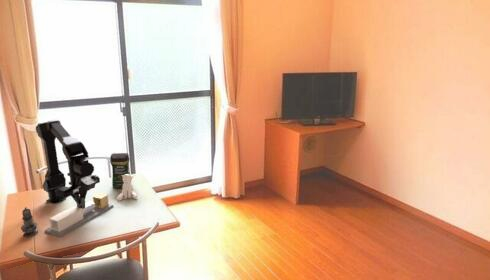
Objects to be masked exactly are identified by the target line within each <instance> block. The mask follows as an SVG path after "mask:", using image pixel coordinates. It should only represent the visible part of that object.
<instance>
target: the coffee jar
mask: <svg viewBox="0 0 490 280" xmlns="http://www.w3.org/2000/svg"><path fill="white" fill-rule="evenodd" d="M109 157H110V159H109V160H110V161H109V163H110V165H111V169H112V178H111V179H112V183H111V184H112V187H113V188H114V189H122V188H123V184H124V182H123V180H122V179H123V176H122V175H125V174H130V175H131V172H130V164H129V163H130V160H131V159H130V155H129V153H128V152H121V153H120V152H119V153H118V152H116V153H115V152H113V153H111V155H110V156H109Z"/></svg>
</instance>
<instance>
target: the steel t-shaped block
mask: <svg viewBox="0 0 490 280" xmlns="http://www.w3.org/2000/svg"><path fill="white" fill-rule="evenodd" d="M79 198H80V205H78V204H77V203H76V207H79V208H82V210H83V215H85V214H87V213H88V212H90V211H92V210H94V209H95V204H94V202H93V201H88V202H86V198H85V197H83V196H80V195H79Z"/></svg>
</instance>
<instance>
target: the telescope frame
mask: <svg viewBox="0 0 490 280" xmlns="http://www.w3.org/2000/svg"><path fill="white" fill-rule="evenodd" d="M92 199H93V201H92V202H93V203H94V204H95V209H94V210H92V211H90V212H88V213H87V214H85V215H83V210H82V208H79V207H77V206H76V205H73V206H71V207H70V208H68V209H66V210H65V209H64V211H61V212H60V213H57V214H56V215H53V216H51V217H49V218H48V219H49V224H50V226H49V227H47V228H45V229H44V232H45V233H47V234H49V235H53V236H55V237H58V238H62V237H63V236H65V235H66V234H68V233H70V232H72V231H73V230H75V229H77V228H79V227H80V226H82V225H84V224H86V223H88V222H90V221H91V220H93V219H94V218H96V217H99V216H100V215H102V214H103V213H105V212H107V211H108V210H111V209H112V208H114V204H111V203H109V196H108V194H105V193H101V192H100V193H97V194H95V195H93V196H92Z"/></svg>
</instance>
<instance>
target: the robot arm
mask: <svg viewBox="0 0 490 280" xmlns="http://www.w3.org/2000/svg"><path fill="white" fill-rule="evenodd" d="M35 132H36V134H37V136H38V138H39V139H40V140H42V144H43V149H44V155H45V161H46V168H47V170H46V173H45V175H44V182H43V184H42V189H43V190H44V191H45V192H46V193H47V196H48V199H46V202H47V203H51V204H57V203H60V202H62V201H65V200H66V199H67V198H69V197H71V198H72V199H73V200H74V202H75V203H76V205H77V204H78V205H80V198H79V196H83V197H85V199H86V197H87V194H88V191H91V190H92V189H95V188H96V184H99V183H100V182H101V179H100V177H99V176H98V175H97V174H93V173H94V171H95V166H94V165H93V164H92V163H90V161H89V159H88V158H89V157H90V156H89V152H88V150H87V148H86V147H85V145H84V143H83V142H81V140H79V139H78V138H76V137H73V136H71V134H70V133H69V132H68V131H67V130H66V128H65V127H64V126H63V125H62V123H61V121H60V119H52V120H47V121H44V122H39V123H37V125H35ZM56 140H58V142H59V144H61V146H62V147H61V148H62V149H61V150H62V153H63V155H64V156H65V159H66V160H67V165H68V172H67V176H68V177H69V180H70V181H69V182H68V185H69V186H66V185H67V183H66V181H67V180H66V177H65V174H64V173H63V172H62V171H61V170H60V167H59V162H58V154H57V146H56Z"/></svg>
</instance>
